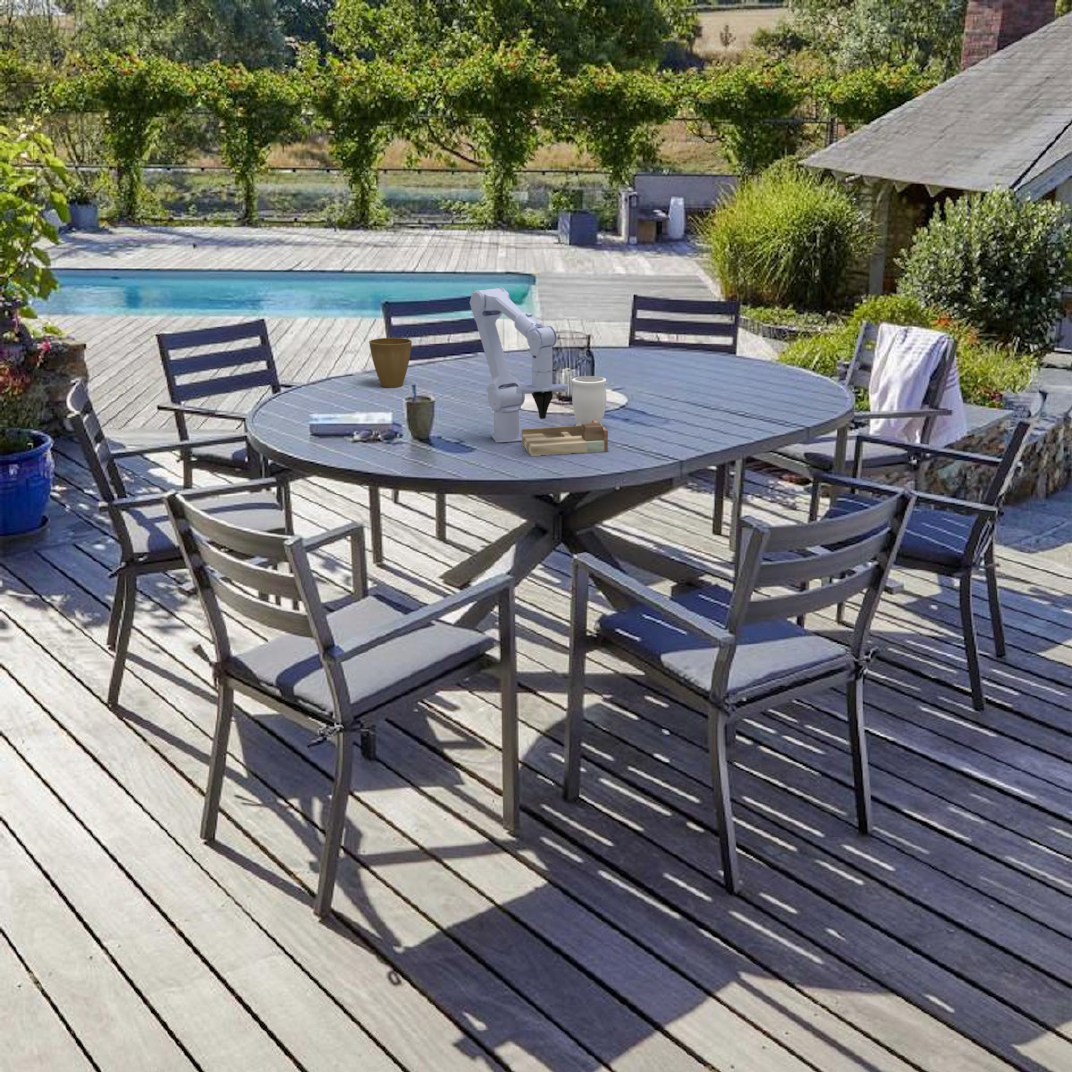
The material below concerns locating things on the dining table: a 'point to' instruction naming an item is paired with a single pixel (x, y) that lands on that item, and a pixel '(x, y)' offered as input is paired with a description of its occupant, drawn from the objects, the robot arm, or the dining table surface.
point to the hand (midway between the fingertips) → (542, 418)
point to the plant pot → (391, 359)
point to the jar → (589, 399)
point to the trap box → (561, 441)
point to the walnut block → (592, 431)
